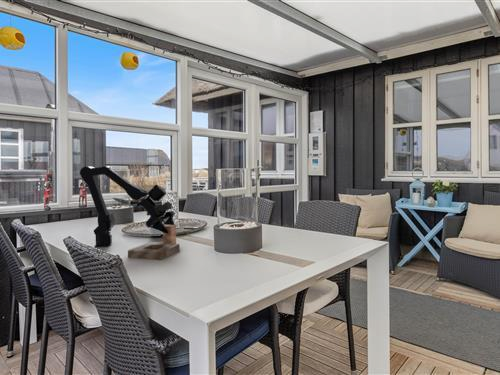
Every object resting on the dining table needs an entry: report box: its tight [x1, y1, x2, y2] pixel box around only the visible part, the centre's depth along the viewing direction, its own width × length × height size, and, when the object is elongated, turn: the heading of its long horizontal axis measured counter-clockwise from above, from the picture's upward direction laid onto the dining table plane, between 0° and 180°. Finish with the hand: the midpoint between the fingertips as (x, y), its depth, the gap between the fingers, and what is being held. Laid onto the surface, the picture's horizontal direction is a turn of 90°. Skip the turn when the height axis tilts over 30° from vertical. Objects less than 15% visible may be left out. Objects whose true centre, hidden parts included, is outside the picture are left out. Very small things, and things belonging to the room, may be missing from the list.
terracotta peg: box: [162, 224, 177, 244], centre depth 166 cm, size 5×5×10 cm
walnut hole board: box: [127, 241, 181, 261], centre depth 151 cm, size 16×16×3 cm
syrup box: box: [149, 215, 165, 234], centre depth 189 cm, size 6×6×14 cm
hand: (172, 231), depth 165 cm, fingers open, 8 cm apart
